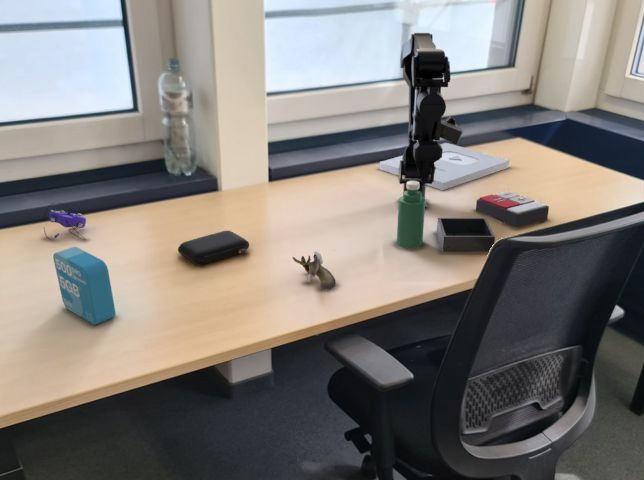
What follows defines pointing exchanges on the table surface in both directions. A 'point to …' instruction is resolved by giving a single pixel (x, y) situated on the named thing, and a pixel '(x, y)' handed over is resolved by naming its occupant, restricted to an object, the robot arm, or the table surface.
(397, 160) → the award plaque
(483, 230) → the tray
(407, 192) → the bottle
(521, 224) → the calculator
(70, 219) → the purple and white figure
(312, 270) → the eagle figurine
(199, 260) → the carrying case
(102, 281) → the data package
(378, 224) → the table surface
